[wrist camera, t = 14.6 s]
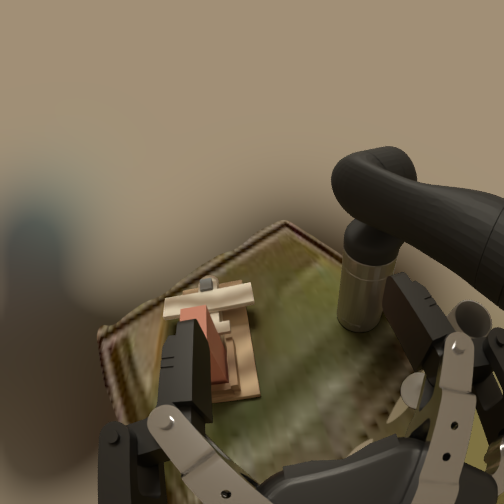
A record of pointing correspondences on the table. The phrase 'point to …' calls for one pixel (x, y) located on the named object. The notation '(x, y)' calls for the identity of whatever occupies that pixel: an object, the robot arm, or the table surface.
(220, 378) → the terracotta rectangular block
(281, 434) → the table surface
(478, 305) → the wineglass
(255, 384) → the jig
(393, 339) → the table surface
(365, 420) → the table surface
